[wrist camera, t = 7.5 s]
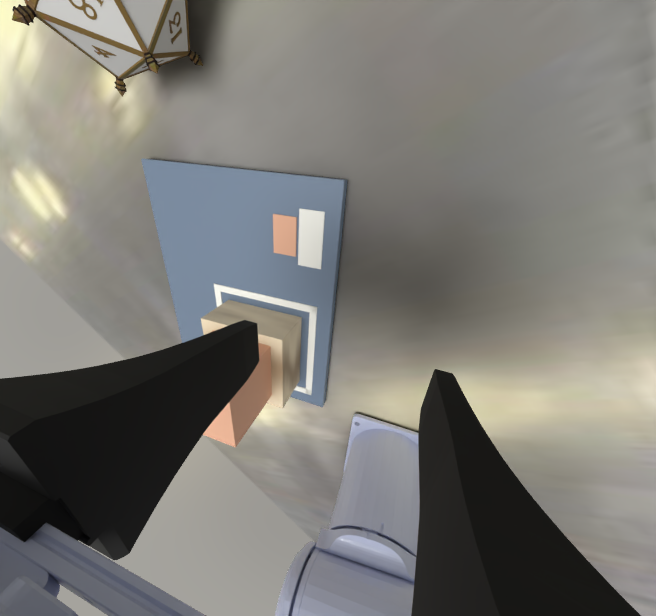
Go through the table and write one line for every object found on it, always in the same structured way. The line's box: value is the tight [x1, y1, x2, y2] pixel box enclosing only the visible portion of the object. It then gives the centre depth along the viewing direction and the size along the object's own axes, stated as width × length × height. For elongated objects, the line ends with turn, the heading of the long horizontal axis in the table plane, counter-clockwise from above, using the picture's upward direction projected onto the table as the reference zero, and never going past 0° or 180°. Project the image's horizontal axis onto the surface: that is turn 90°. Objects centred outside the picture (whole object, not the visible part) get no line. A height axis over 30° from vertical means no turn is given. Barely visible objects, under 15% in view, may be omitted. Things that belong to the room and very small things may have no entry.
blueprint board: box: [141, 159, 347, 407], centre depth 24 cm, size 20×16×1 cm
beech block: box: [201, 300, 302, 408], centre depth 23 cm, size 7×7×4 cm
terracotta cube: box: [203, 330, 272, 447], centre depth 20 cm, size 5×5×5 cm
